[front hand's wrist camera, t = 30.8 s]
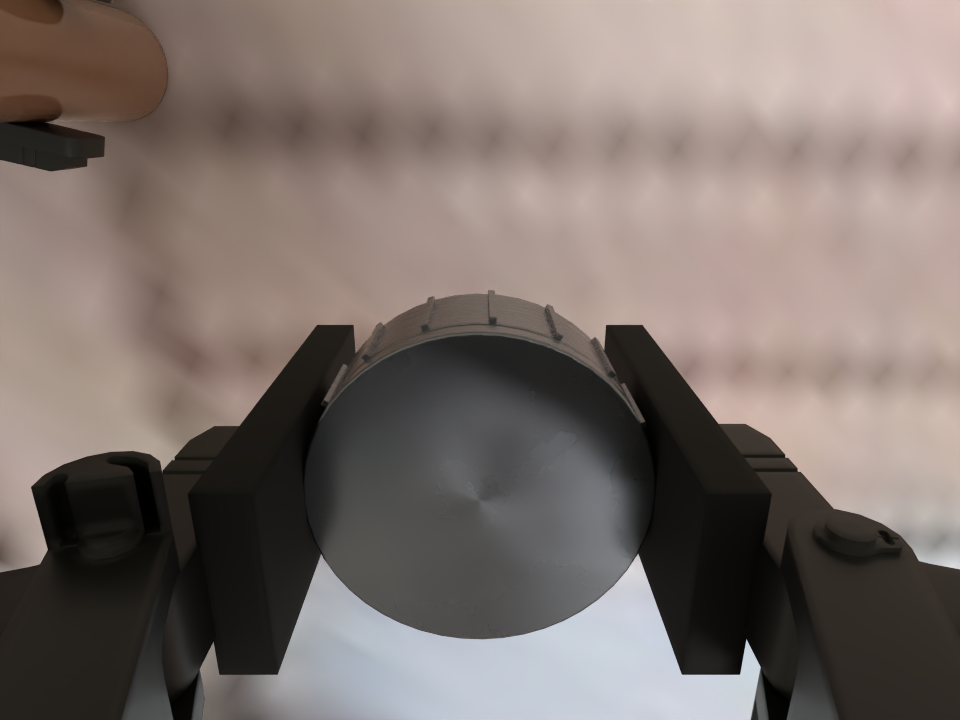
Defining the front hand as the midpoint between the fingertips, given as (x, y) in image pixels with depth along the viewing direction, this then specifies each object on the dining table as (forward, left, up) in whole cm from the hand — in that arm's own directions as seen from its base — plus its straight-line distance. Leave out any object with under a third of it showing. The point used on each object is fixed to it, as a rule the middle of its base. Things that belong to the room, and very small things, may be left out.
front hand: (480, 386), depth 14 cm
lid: (0, 0, +4) cm, 4 cm away
